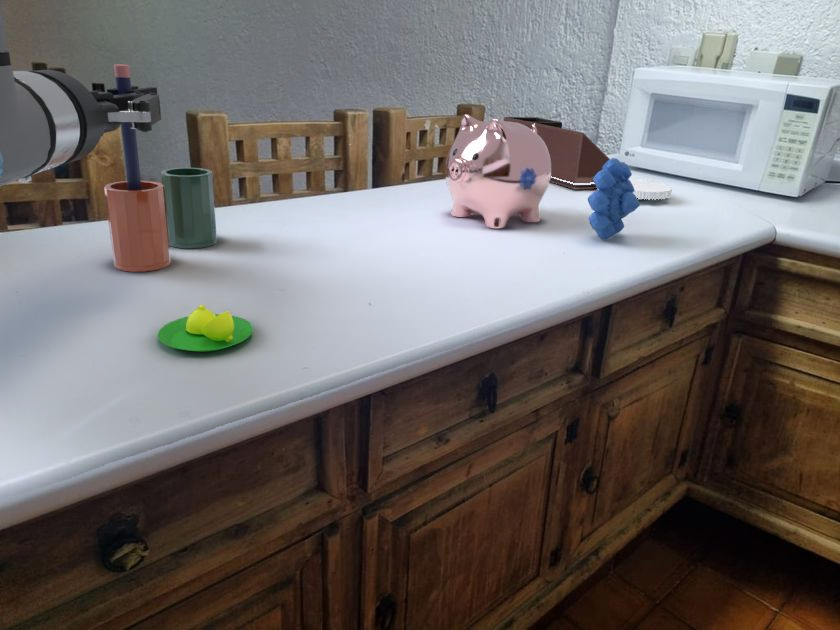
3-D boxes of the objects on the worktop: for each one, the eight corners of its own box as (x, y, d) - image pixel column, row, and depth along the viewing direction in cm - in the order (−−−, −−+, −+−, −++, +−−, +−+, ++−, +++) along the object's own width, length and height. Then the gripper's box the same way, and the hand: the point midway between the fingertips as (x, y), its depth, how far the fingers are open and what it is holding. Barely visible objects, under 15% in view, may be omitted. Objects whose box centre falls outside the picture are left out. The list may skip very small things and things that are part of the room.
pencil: (130, 237, 74) (110, 64, 67) (137, 233, 75) (119, 64, 68) (141, 238, 74) (124, 65, 67) (148, 235, 75) (131, 65, 68)
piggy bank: (418, 214, 106) (423, 111, 100) (495, 203, 117) (505, 110, 111) (485, 237, 95) (496, 122, 89) (564, 222, 106) (578, 120, 100)
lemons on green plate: (271, 331, 60) (270, 302, 59) (213, 365, 53) (210, 333, 52) (201, 314, 63) (199, 286, 62) (137, 344, 56) (133, 313, 55)
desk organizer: (532, 164, 161) (537, 116, 157) (614, 188, 137) (623, 132, 132) (495, 165, 156) (500, 116, 152) (574, 190, 132) (582, 133, 128)
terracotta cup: (103, 268, 73) (92, 188, 70) (133, 254, 79) (124, 178, 76) (153, 274, 73) (145, 193, 69) (180, 259, 78) (173, 183, 75)
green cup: (158, 246, 82) (151, 173, 79) (182, 234, 88) (176, 166, 85) (203, 250, 82) (198, 178, 78) (224, 238, 87) (220, 169, 84)
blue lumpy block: (615, 253, 91) (630, 165, 86) (571, 242, 95) (583, 158, 90) (647, 238, 99) (663, 158, 95) (606, 229, 103) (618, 151, 99)
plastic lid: (649, 208, 120) (652, 194, 119) (582, 194, 129) (584, 181, 128) (681, 199, 130) (684, 186, 129) (616, 187, 138) (618, 175, 137)
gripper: (-47, 163, 54) (85, 129, 75) (131, 173, 54) (211, 137, 76) (-68, 65, 51) (76, 59, 73) (121, 76, 51) (207, 67, 73)
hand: (145, 99), depth 74 cm, fingers closed on pencil
